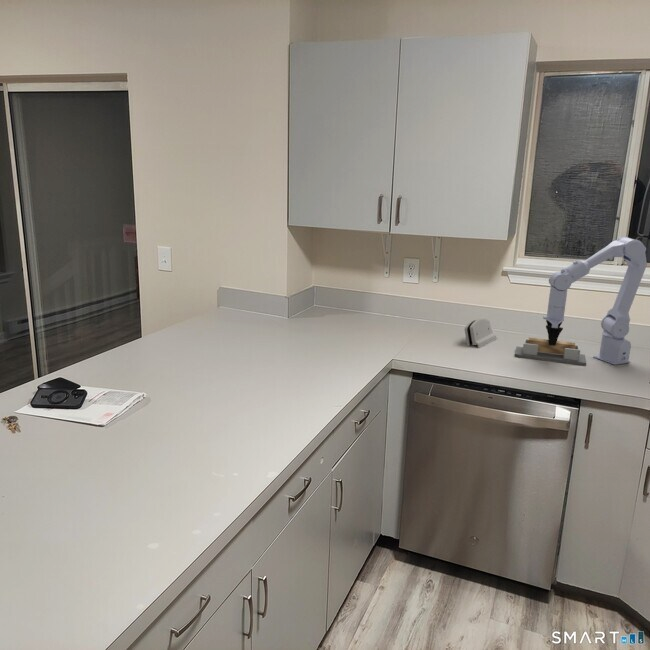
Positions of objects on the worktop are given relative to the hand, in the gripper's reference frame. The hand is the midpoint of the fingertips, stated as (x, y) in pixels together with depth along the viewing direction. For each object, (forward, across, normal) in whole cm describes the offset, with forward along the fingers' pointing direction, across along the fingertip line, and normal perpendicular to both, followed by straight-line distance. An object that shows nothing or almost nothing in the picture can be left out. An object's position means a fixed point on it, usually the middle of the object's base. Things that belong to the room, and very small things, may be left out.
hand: (551, 342), depth 213 cm
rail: (+4, 0, 0) cm, 4 cm away
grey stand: (+6, -9, -26) cm, 28 cm away
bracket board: (+6, 0, 0) cm, 6 cm away
